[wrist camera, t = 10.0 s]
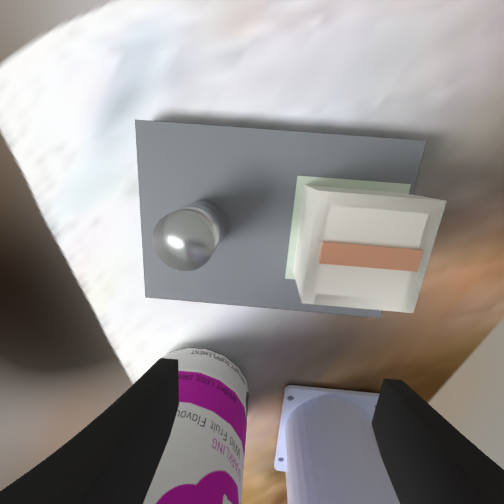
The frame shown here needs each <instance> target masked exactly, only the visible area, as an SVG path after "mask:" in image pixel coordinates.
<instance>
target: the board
mask: <svg viewBox="0 0 504 504" xmlns="http://www.w3.org/2000/svg"><path fill="white" fill-rule="evenodd" d="M135 128H136V145H137V162H138V179H139V196H140V213H141V230H142V247H143V264H144V281H145V297H148V298H159V299H171V300H182V301H193V302H205V303H216V304H227V305H239V306H250V307H261V308H273V309H284V310H295V311H307V312H318V313H329V314H341V315H352V316H363V317H375V318H381V317H382V313H383V310H372V309H361V308H349V307H338V306H327V305H315V304H304V303H302V302H301V299H300V295H299V291H298V288H297V284H296V281H295V277H294V273H293V269H294V261H295V254H296V246H297V238H298V231H299V223H300V215H301V208H302V200H303V192H304V185H311V186H324V187H337V188H350V189H363V190H375V191H388V192H400V193H406V194H412V195H413V192H414V188H415V184H416V180H417V176H418V172H419V168H420V164H421V161H422V157H423V153H424V149H425V145H426V141H422V140H408V139H395V138H381V137H367V136H353V135H339V134H326V133H312V132H298V131H284V130H270V129H257V128H243V127H229V126H215V125H201V124H188V123H174V122H160V121H146V120H135ZM198 200H209V201H212V202H214V203H216V204H217V205H219V206H220V207H221V208H222V210H223V211H224V213H225V215H226V218H227V230H226V233H225V235H224V236H223V238H222V239H221V241H220V243H219V244H218V246H217V248H216V249H215V251H214V252H213V254H212V256H211V257H210V259H209V260H208V262H207V263H206V264H205V265H203V266H202V267H200V268H199V269H196V270H193V271H179V270H175V269H173V268H171V267H169V266H167V265H166V264H165V263H163V262H162V261H161V259H160V258H159V257H158V256H157V254H156V252H155V250H154V247H153V241H152V236H153V231H154V228H155V226H156V224H157V223H158V221H159V220H160V219H161V218H162V217H164V216H165V215H167V214H169V213H171V212H174V211H176V210H178V209H180V208H182V207H184V206H187V205H189V204H191V203H193V202H195V201H198Z"/></svg>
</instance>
